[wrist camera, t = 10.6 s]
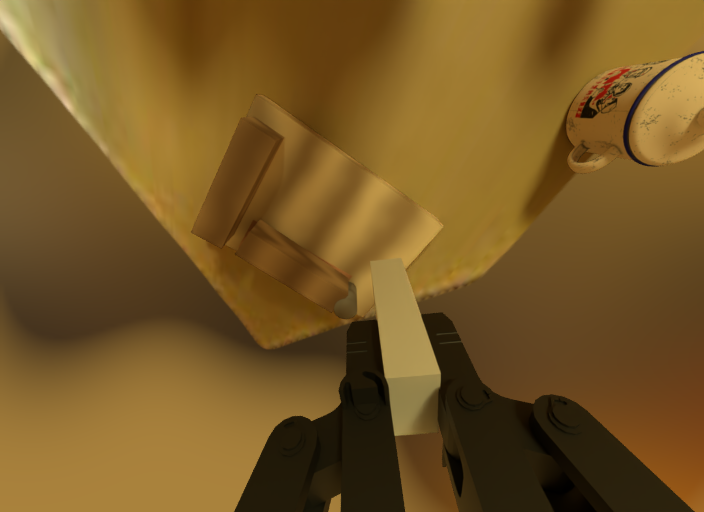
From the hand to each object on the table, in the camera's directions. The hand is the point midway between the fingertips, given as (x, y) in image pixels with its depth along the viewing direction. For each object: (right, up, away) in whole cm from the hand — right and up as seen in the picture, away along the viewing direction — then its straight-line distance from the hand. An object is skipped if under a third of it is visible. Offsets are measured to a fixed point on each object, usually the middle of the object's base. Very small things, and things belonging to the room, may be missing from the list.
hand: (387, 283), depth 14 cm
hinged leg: (-8, 0, +24) cm, 25 cm away
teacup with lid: (+26, +17, +19) cm, 37 cm away
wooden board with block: (-6, +6, +24) cm, 26 cm away
